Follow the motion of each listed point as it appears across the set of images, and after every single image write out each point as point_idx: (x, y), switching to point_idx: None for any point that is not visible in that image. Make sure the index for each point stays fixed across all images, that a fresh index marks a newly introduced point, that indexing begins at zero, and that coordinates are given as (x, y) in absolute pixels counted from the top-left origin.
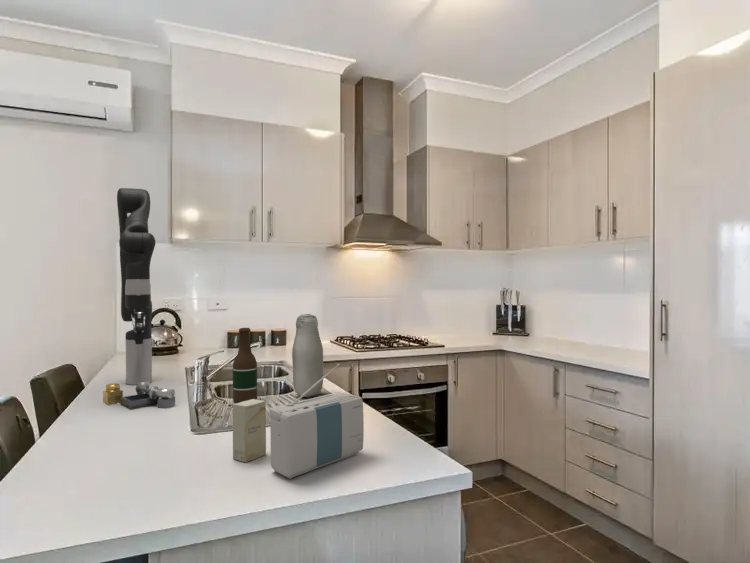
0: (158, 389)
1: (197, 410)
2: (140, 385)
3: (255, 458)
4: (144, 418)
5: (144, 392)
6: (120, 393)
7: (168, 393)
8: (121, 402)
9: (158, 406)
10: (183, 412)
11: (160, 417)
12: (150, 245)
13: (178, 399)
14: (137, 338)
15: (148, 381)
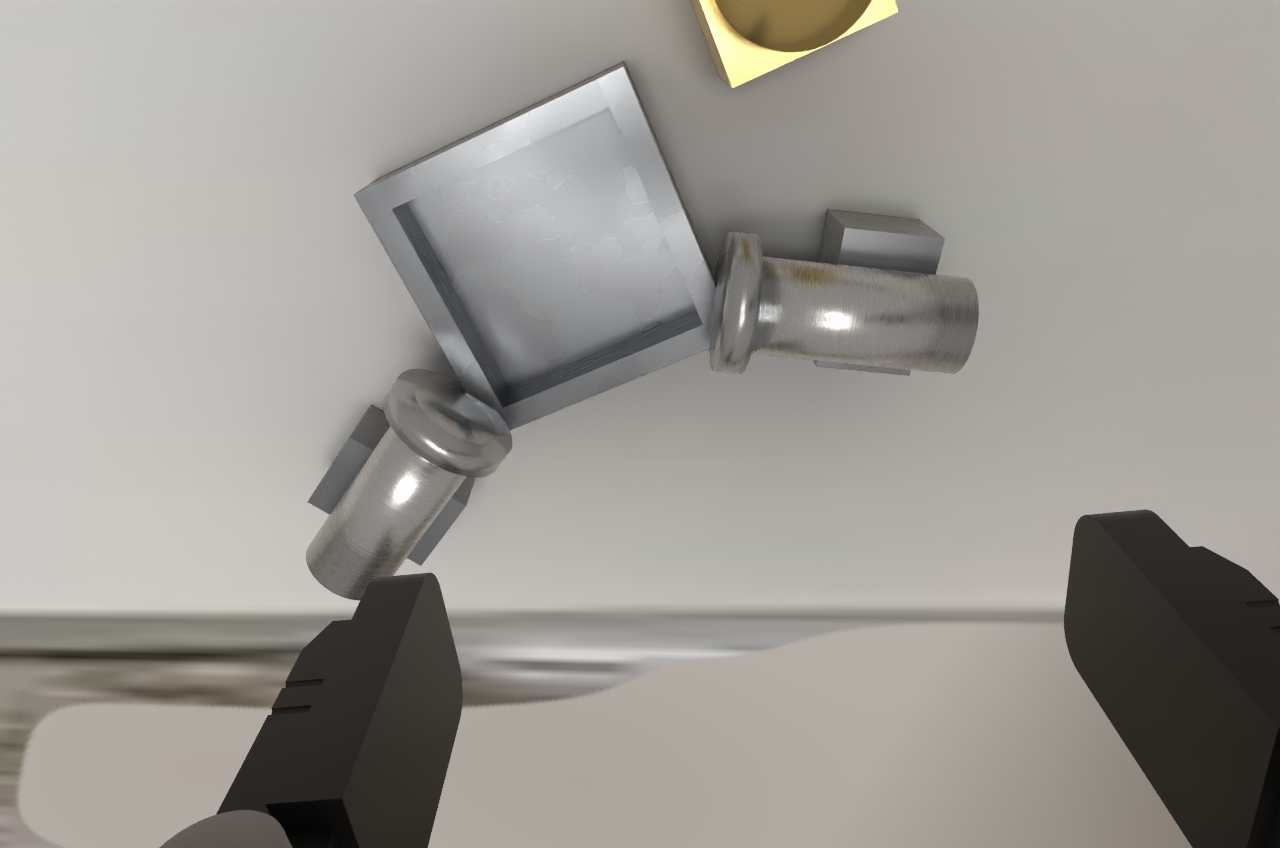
0: (390, 482)
1: (200, 658)
2: (725, 295)
3: None
4: (22, 320)
5: (714, 308)
6: (720, 59)
7: (309, 549)
8: (593, 77)
9: (365, 414)
10: (161, 577)
11: (35, 433)
12: None
13: (628, 547)
14: (276, 717)
15: (942, 364)
